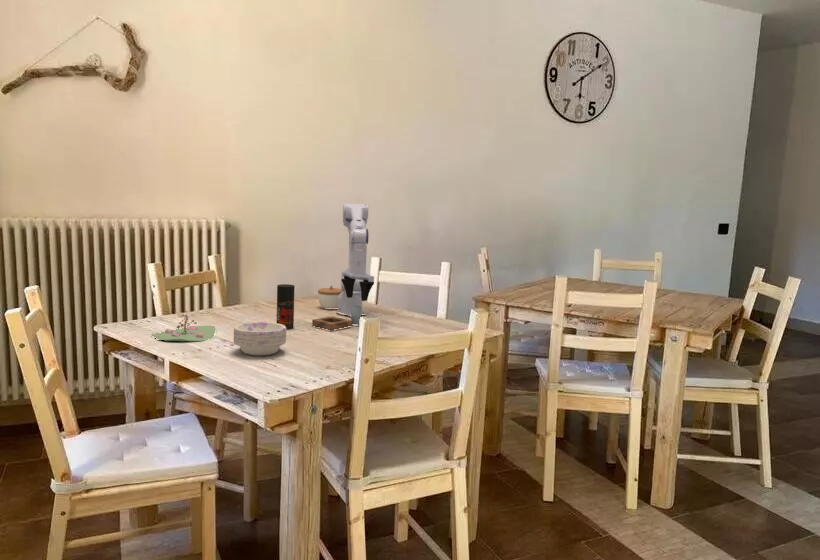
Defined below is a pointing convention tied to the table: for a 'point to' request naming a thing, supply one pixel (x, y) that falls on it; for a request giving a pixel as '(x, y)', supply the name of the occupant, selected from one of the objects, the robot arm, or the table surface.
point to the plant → (187, 332)
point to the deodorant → (285, 305)
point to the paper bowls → (259, 337)
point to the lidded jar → (329, 297)
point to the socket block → (331, 323)
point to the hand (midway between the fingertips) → (356, 299)
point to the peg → (356, 314)
